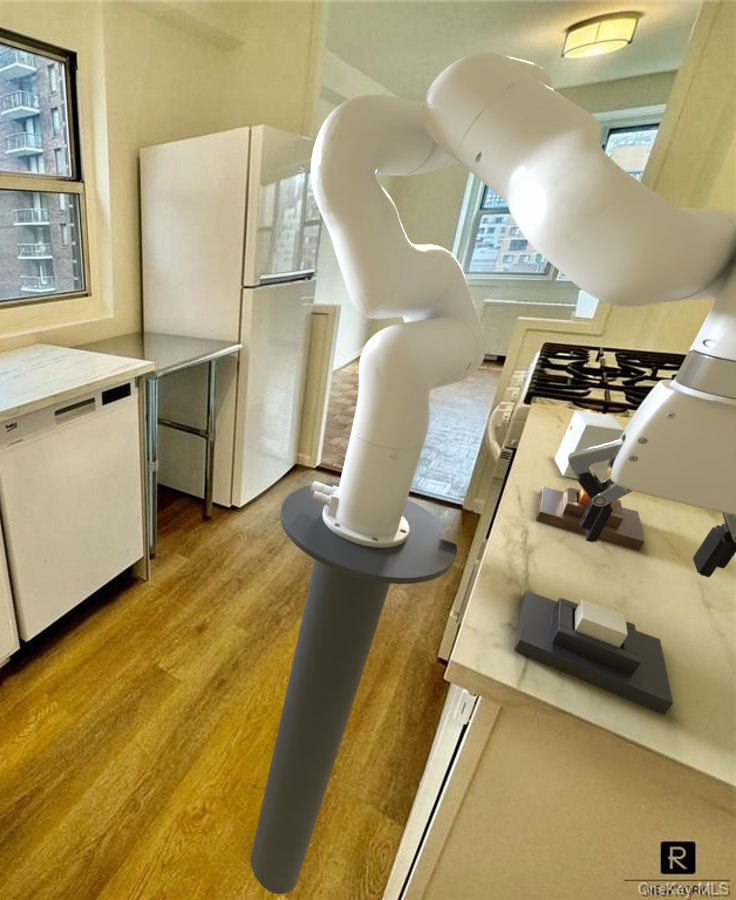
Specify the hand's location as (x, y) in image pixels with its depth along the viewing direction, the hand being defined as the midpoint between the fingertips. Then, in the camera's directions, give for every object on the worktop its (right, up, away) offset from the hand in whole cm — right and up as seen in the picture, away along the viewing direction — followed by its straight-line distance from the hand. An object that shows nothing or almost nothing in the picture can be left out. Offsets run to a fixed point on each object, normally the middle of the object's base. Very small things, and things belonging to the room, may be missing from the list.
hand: (642, 550), depth 47 cm
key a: (0, -10, +5) cm, 11 cm away
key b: (+21, +2, +27) cm, 35 cm away
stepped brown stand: (+21, -1, +29) cm, 36 cm away
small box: (+33, +6, +43) cm, 55 cm away
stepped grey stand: (0, -12, +6) cm, 14 cm away
